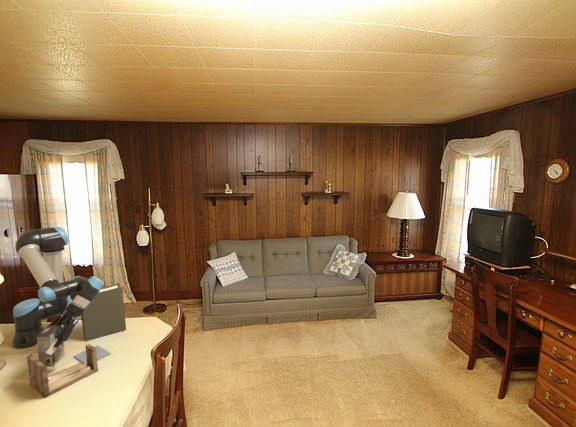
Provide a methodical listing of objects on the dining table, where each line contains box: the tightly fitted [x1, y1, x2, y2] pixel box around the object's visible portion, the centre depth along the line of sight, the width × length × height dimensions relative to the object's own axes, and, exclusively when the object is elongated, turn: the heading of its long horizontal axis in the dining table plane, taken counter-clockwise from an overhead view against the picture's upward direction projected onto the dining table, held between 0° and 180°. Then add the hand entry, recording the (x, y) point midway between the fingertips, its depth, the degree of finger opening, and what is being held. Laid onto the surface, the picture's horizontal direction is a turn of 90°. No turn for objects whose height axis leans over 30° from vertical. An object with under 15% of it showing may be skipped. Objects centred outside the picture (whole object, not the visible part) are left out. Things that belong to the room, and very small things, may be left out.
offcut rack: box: [26, 343, 99, 399], centre depth 147 cm, size 16×22×14 cm
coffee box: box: [36, 325, 66, 368], centre depth 148 cm, size 9×6×16 cm
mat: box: [73, 345, 112, 365], centre depth 166 cm, size 14×12×1 cm
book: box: [80, 282, 127, 342], centre depth 187 cm, size 22×9×28 cm, turn 127°
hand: (43, 350), depth 146 cm, fingers closed on coffee box, 10 cm apart
